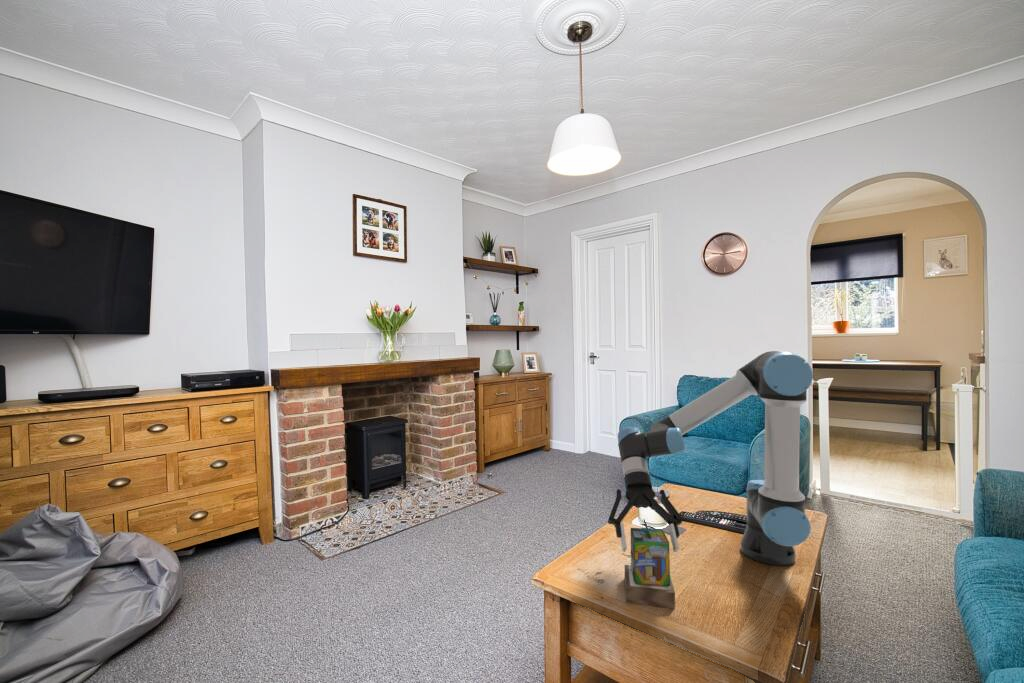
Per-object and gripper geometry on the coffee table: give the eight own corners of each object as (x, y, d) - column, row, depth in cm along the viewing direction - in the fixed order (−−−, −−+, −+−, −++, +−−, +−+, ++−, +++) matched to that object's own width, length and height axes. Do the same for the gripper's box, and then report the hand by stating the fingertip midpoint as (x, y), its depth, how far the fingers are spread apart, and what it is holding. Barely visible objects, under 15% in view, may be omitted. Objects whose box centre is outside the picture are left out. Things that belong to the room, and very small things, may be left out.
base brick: (668, 583, 126) (668, 568, 126) (674, 608, 114) (674, 591, 114) (624, 578, 129) (624, 563, 128) (626, 602, 117) (626, 586, 117)
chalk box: (670, 587, 116) (670, 530, 116) (634, 584, 117) (634, 528, 117) (663, 569, 125) (663, 516, 125) (630, 567, 127) (629, 514, 126)
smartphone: (649, 517, 172) (687, 528, 160) (649, 519, 172) (687, 531, 160) (639, 522, 167) (677, 534, 156) (639, 524, 167) (677, 537, 156)
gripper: (675, 482, 136) (694, 555, 121) (593, 481, 137) (601, 554, 122) (681, 470, 131) (702, 545, 116) (595, 469, 132) (604, 544, 117)
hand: (650, 550), depth 119 cm, fingers open, 13 cm apart
